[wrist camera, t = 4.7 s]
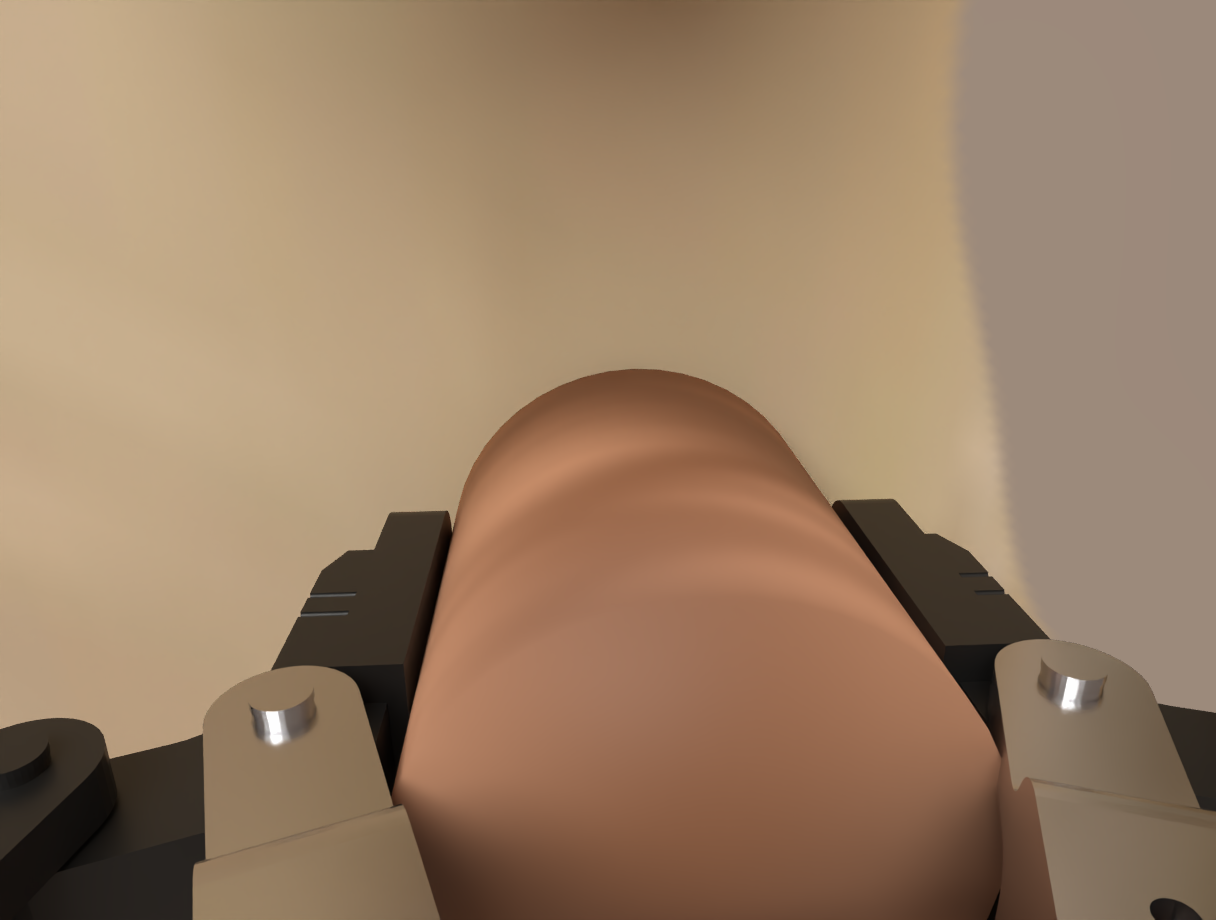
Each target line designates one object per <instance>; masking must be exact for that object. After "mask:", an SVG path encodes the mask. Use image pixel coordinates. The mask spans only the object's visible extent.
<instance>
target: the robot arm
mask: <svg viewBox="0 0 1216 920" xmlns="http://www.w3.org/2000/svg"><path fill="white" fill-rule="evenodd" d="M832 508H833V510H834V511H835V513H836V514H837V515H838V517H839V518H840V520H841V521H842V522H843V524H844V525H845V527H846V528H847V529H848V531H849V532H850V534H851V535H852V536H853V538H854V539H855V541H856V542H857V543H858V545H859V546H860V548H861V549H862V550H863V552H864V553H865V555H866V556H867V557H868V559H869V560H870V562H871V563H872V564H873V566H874V567H875V569H876V570H877V571H878V573H879V574H880V576H881V577H882V578H883V580H884V581H885V583H886V584H887V585H888V587H889V588H890V590H891V591H892V592H893V594H894V595H895V597H896V598H897V600H898V601H899V602H900V604H901V605H902V607H903V608H904V609H905V611H906V612H907V614H908V615H909V616H910V618H911V619H912V621H913V622H914V623H915V625H916V626H917V628H918V629H919V630H920V632H921V633H922V635H923V636H924V637H925V639H926V640H927V642H928V643H929V644H930V646H931V647H932V649H933V650H934V651H935V653H936V654H937V656H938V657H939V658H940V660H941V661H942V663H943V664H944V665H945V667H946V668H947V670H948V671H949V672H950V674H951V675H952V677H953V678H954V679H955V681H956V682H957V684H958V685H959V687H960V688H961V689H962V691H963V692H964V694H965V695H966V696H967V698H968V699H969V701H970V702H971V704H972V705H973V707H974V708H975V710H976V711H977V713H978V714H979V716H980V717H981V719H982V720H983V722H984V723H985V725H986V726H987V728H988V729H989V731H990V734H991V736H992V738H993V741H994V743H995V745H996V747H997V750H998V752H999V754H1000V756H1001V764H1000V770H999V775H998V781H997V793H998V802H999V810H1000V818H1001V826H1002V835H1003V869H1002V882H1001V888H1000V890H999V893H998V895H997V898H996V900H995V902H994V905H993V907H992V909H991V912H990V914H989V917H988V918H987V920H1216V713H1213V712H1206V711H1200V710H1193V709H1186V708H1180V707H1173V706H1168V705H1163V704H1158V703H1157V701H1156V699H1155V696H1154V694H1153V691H1152V690H1151V688H1150V686H1149V684H1148V683H1147V681H1146V680H1145V679H1144V678H1143V677H1142V676H1141V675H1140V674H1139V673H1138V672H1137V671H1135V670H1134V669H1133V668H1132V667H1130V666H1129V665H1127V664H1126V663H1124V662H1122V661H1121V660H1119V659H1117V658H1115V657H1113V656H1111V655H1109V654H1106V653H1104V652H1102V651H1099V650H1096V649H1093V648H1090V647H1087V646H1084V645H1080V644H1076V643H1071V642H1066V641H1059V640H1050V638H1049V637H1048V636H1047V635H1046V634H1045V633H1044V632H1043V631H1042V630H1041V629H1040V628H1039V627H1038V626H1037V624H1036V623H1035V622H1034V621H1033V620H1032V619H1031V618H1030V617H1029V616H1028V615H1027V614H1026V613H1025V612H1024V610H1023V609H1022V608H1021V607H1020V606H1019V605H1018V604H1017V603H1016V602H1015V601H1014V600H1013V599H1012V598H1011V596H1010V595H1009V594H1004V589H1003V588H1002V587H1001V586H1000V585H999V584H998V582H997V581H996V580H995V579H994V578H993V577H992V576H991V577H988V572H987V571H986V570H985V568H984V567H983V566H982V565H981V564H980V563H979V562H978V561H977V560H976V559H975V558H974V557H973V556H972V554H971V553H970V552H969V551H967V550H965V549H963V548H962V547H960V546H958V545H956V544H954V543H952V542H951V541H949V540H947V539H945V538H943V537H941V536H939V535H938V534H924V533H923V532H922V530H921V529H920V528H919V527H918V526H917V525H916V523H915V522H914V521H913V520H912V519H911V518H910V516H909V515H908V514H907V513H906V512H905V511H904V510H903V508H902V507H901V506H900V505H899V504H898V503H897V502H896V501H895V500H894V499H869V500H837V501H835V502H834V504H833V506H832ZM451 536H452V527H451V520H450V516H449V513H448V511H425V512H391V513H390V514H389V516H388V518H387V520H386V523H385V525H384V528H383V530H382V532H381V535H380V537H379V540H378V542H377V544H376V547H375V549H374V550H355V551H347V552H346V553H345V554H343V555H342V556H341V557H339V558H338V559H337V560H335V561H334V562H333V563H331V564H330V565H329V566H327V567H326V568H325V569H323V570H322V571H321V573H320V575H319V577H318V579H317V581H316V583H315V585H314V587H313V589H312V591H311V593H310V598H308V599H307V601H306V603H305V605H304V607H303V609H302V610H301V617H298V618H297V620H296V622H295V624H294V626H293V628H292V630H291V632H290V634H289V636H288V638H287V640H286V642H285V644H284V646H283V648H282V650H281V652H280V654H279V656H278V658H277V660H276V662H275V663H274V665H273V667H272V669H271V671H268V672H264V673H261V674H259V675H256V676H253V677H251V678H249V679H246V680H244V681H242V682H240V683H239V684H237V685H235V686H233V687H232V688H230V689H229V690H227V691H226V692H225V693H223V694H222V695H221V696H220V697H219V698H218V699H217V700H216V701H215V702H214V703H213V704H212V705H211V707H210V708H209V710H208V711H207V713H206V716H205V718H204V722H203V734H202V735H199V736H196V737H194V738H191V739H188V740H185V741H181V742H178V743H174V744H171V745H166V746H162V747H158V748H154V749H150V750H145V751H141V752H137V753H133V754H129V755H124V756H120V757H116V758H112V759H109V755H108V751H107V747H106V743H105V739H104V736H103V734H102V733H101V731H100V730H99V729H98V728H97V727H95V726H94V725H92V724H90V723H88V722H85V721H82V720H77V719H69V718H51V719H41V720H34V721H29V722H25V723H20V724H16V725H13V726H10V727H6V728H3V729H0V920H440V917H439V914H438V911H437V908H436V904H435V901H434V898H433V895H432V891H431V888H430V885H429V882H428V879H427V875H426V872H425V869H424V866H423V862H422V859H421V856H420V853H419V850H418V846H417V843H416V840H415V837H414V834H413V830H412V827H411V824H410V821H409V818H408V815H407V812H406V810H405V808H404V806H403V804H398V805H395V806H393V803H392V799H391V796H392V791H393V787H394V783H395V778H396V774H397V770H398V765H399V761H400V757H401V752H402V748H403V744H404V739H405V735H406V731H407V726H408V722H409V718H410V713H411V709H412V705H413V700H414V696H415V692H416V687H417V683H418V679H419V674H420V670H421V666H422V662H423V657H424V653H425V649H426V644H427V640H428V636H429V631H430V627H431V623H432V618H433V614H434V610H435V605H436V601H437V597H438V592H439V588H440V584H441V579H442V575H443V571H444V566H445V562H446V558H447V553H448V549H449V545H450V540H451Z"/></svg>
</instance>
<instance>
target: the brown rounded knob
mask: <svg viewBox="0 0 1216 920" xmlns="http://www.w3.org/2000/svg"><path fill="white" fill-rule="evenodd" d="M1000 764H1001V756H1000V754H999V752H998V750H997V747H996V745H995V743H994V741H993V738H992V736H991V734H990V731H989V729H988V728H987V726H986V725H985V723H984V722H983V720H982V719H981V717H980V716H979V714H978V713H977V711H976V710H975V708H974V707H973V705H972V704H971V702H970V701H969V699H968V698H967V696H966V695H965V694H964V692H963V691H962V689H961V688H960V687H959V685H958V684H957V682H956V681H955V679H954V678H953V677H952V675H951V674H950V672H949V671H948V670H947V668H946V667H945V665H944V664H943V663H942V661H941V660H940V658H939V657H938V656H937V654H936V653H935V651H934V650H933V649H932V647H931V646H930V644H929V643H928V642H927V640H926V639H925V637H924V636H923V635H922V633H921V632H920V630H919V629H918V628H917V626H916V625H915V623H914V622H913V621H912V619H911V618H910V616H909V615H908V614H907V612H906V611H905V609H904V608H903V607H902V605H901V604H900V602H899V601H898V600H897V598H896V597H895V595H894V594H893V592H892V591H891V590H890V588H889V587H888V585H887V584H886V583H885V581H884V580H883V578H882V577H881V576H880V574H879V573H878V571H877V570H876V569H875V567H874V566H873V564H872V563H871V562H870V560H869V559H868V557H867V556H866V555H865V553H864V552H863V550H862V549H861V548H860V546H859V545H858V543H857V542H856V541H855V539H854V538H853V536H852V535H851V534H850V532H849V531H848V529H847V528H846V527H845V525H844V524H843V522H842V521H841V520H840V518H839V517H838V515H837V514H836V513H835V511H834V510H833V508H832V507H831V506H830V504H829V503H828V501H827V500H826V498H825V497H824V496H823V494H822V493H821V491H820V490H819V489H818V487H817V486H816V484H815V483H814V482H813V480H812V479H811V477H810V476H809V475H808V473H807V472H806V470H805V469H804V468H803V466H802V465H801V463H800V462H799V461H798V459H797V458H796V456H795V455H794V454H793V452H792V451H791V449H790V448H789V447H788V445H787V444H786V442H785V441H784V440H783V438H782V437H781V435H780V434H779V433H778V432H777V431H776V429H775V428H774V427H773V426H772V425H771V424H770V423H769V422H768V421H767V419H766V418H765V417H764V416H762V415H761V414H760V413H759V412H758V411H756V410H755V409H754V408H753V407H752V406H750V405H749V404H748V403H747V402H745V401H744V400H742V399H740V398H739V397H737V396H736V395H734V394H732V393H731V392H729V391H728V390H726V389H723V388H721V387H719V386H717V385H714V384H712V383H710V382H708V381H705V380H702V379H699V378H695V377H692V376H688V375H685V374H681V373H675V372H669V371H662V370H648V369H628V370H618V371H608V372H604V373H599V374H595V375H591V376H586V377H583V378H580V379H577V380H574V381H572V382H569V383H566V384H564V385H561V386H559V387H557V388H555V389H553V390H551V391H549V392H547V393H545V394H543V395H542V396H540V397H538V398H536V399H535V400H534V401H532V402H531V403H529V404H528V405H526V406H525V407H524V408H522V409H521V410H519V411H518V412H517V413H516V414H515V415H514V416H512V417H511V418H510V419H509V420H508V421H507V422H506V423H505V424H504V425H503V426H502V427H500V429H499V430H498V431H497V432H496V433H495V435H494V436H493V437H492V438H491V439H490V441H489V442H488V443H487V444H486V445H485V447H484V449H483V450H482V452H481V454H480V455H479V457H478V458H477V460H476V462H475V463H474V465H473V467H472V469H471V471H470V474H469V476H468V478H467V480H466V483H465V485H464V488H463V492H462V495H461V499H460V502H459V506H458V510H457V514H456V519H455V523H454V527H453V532H452V536H451V540H450V545H449V549H448V553H447V558H446V562H445V566H444V571H443V575H442V579H441V584H440V588H439V592H438V597H437V601H436V605H435V610H434V614H433V618H432V623H431V627H430V631H429V636H428V640H427V644H426V649H425V653H424V657H423V662H422V666H421V670H420V674H419V679H418V683H417V687H416V692H415V696H414V700H413V705H412V709H411V713H410V718H409V722H408V726H407V731H406V735H405V739H404V744H403V748H402V752H401V757H400V761H399V765H398V770H397V774H396V778H395V783H394V787H393V791H392V796H391V799H392V803H393V806H395V805H398V804H403V806H404V808H405V810H406V812H407V815H408V818H409V821H410V824H411V827H412V830H413V834H414V837H415V840H416V843H417V846H418V850H419V853H420V856H421V859H422V862H423V866H424V869H425V872H426V875H427V879H428V882H429V885H430V888H431V891H432V895H433V898H434V901H435V904H436V908H437V911H438V914H439V917H440V920H987V918H988V917H989V914H990V912H991V909H992V907H993V905H994V902H995V900H996V898H997V895H998V893H999V890H1000V888H1001V882H1002V869H1003V835H1002V826H1001V818H1000V810H999V802H998V793H997V781H998V775H999V770H1000Z"/></svg>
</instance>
